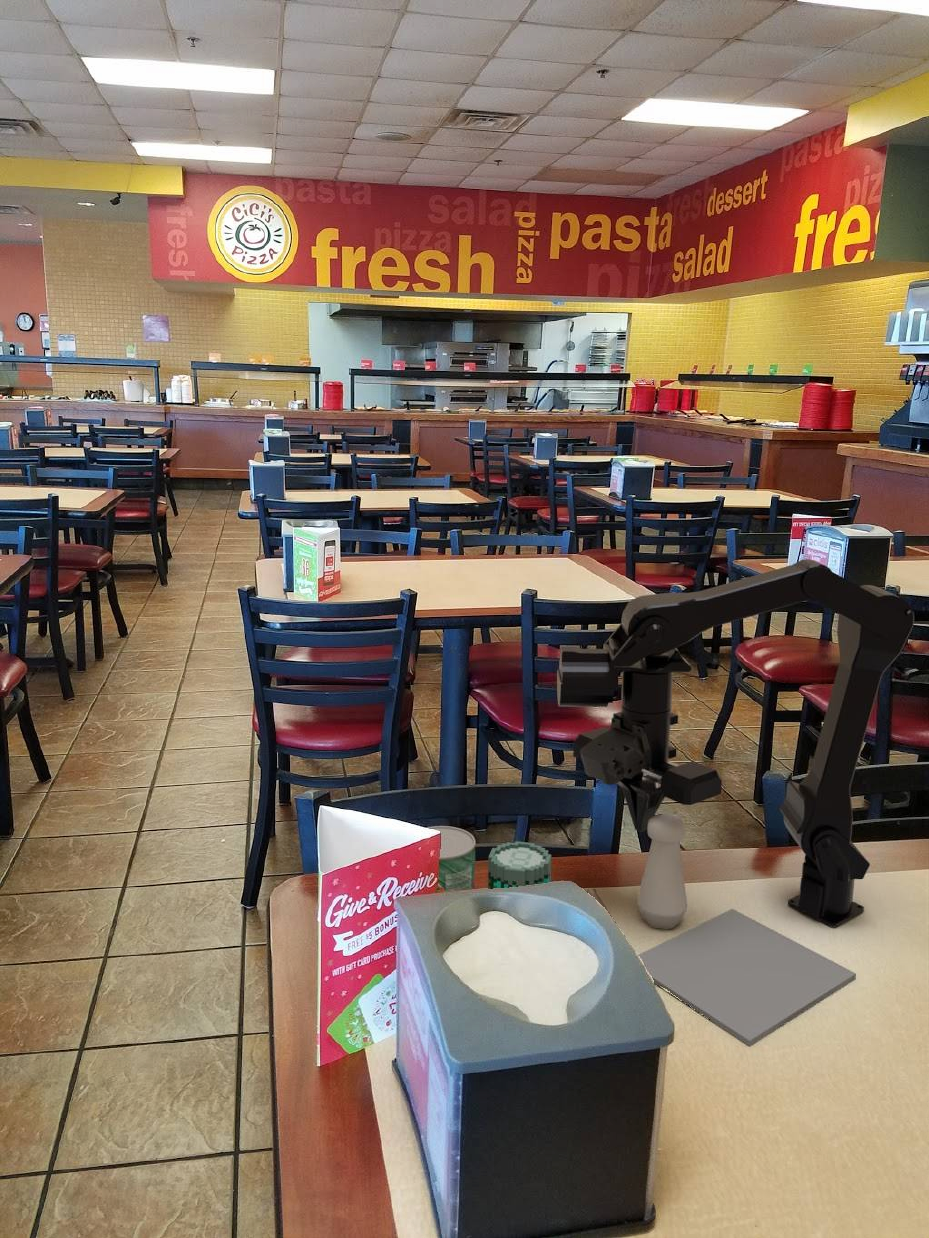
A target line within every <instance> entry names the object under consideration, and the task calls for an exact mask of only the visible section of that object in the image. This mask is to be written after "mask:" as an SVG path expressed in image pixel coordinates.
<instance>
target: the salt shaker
mask: <svg viewBox="0 0 929 1238" xmlns="http://www.w3.org/2000/svg"><path fill="white" fill-rule="evenodd" d="M647 835H648V836H647V837H649V839H651V843H650V848H649V852H648V855H647V860H646V864H645V868H644V872H643V875H642V879H641V883H640V887H639V891H638V893H637V906H638V908H639V911H640V914H641V916H642V919H643V921H644V922H646V923H647V924H648V925H650V926H651V927H652V928H654V927H656V928H655V929H663V928H668V929H667V930H671V929H672V928H674V927H676V926H677V924H678V925H679V924H680V923H681V921H682V919H683V918H684V916H685V914H686V913H687V910H688V900H687V899H688V898H687V893H686V886H685V877H684V869H683V862H682V853H681V845H680V843H681V842H682V841H683V840H684V839H685V837H686V827H685V822H684V821H683V820H682V818H681V817H679V816H677V815H675V814H672V813H657V814H655V815H654V816H653V817H651V818H650V819H649V821H648V828H647ZM670 928H671V929H670Z"/></svg>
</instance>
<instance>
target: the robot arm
mask: <svg viewBox="0 0 929 1238" xmlns="http://www.w3.org/2000/svg"><path fill="white" fill-rule="evenodd" d="M808 601H816V602H817V603H820V604H822V605H823V606H826V607H827V608H829V609H831V610H833V611H835V612H836V613H838V619H837V632H836V634H837V642H838V644H837V645H838V651H839V663H838V667H837V670H836V675H835V678H834V681H833V682H834V683H833V685H832V690H831V692H830V696H829V701H828V704H827V707H826V708H827V709H826V711H825V715H824V719H823V722H822V726H821V729H820V730H821V731H820V733H819V737H818V740H817V743H816V749H815V752H814V755H813V758H812V759H813V760H812V763H811V767H810V770H809V772H808V773H807V775H806V776H805V777H804V778H803V779H802V780H801V781H800V783H797V782H796V781H795V782H794V781H792V780H788V782H787V785H786V791H785V792H786V794H785V799H784V801H783V802H782V804H781V806H779V810H780V812H781V813H782V815H783V822H784V823H783V824H784V825H785V828H786V829H787V830H788V832H789V834H790V835H791V836H792V838H793V839H794V841H795V842H796V843H797V845H798V846H799V848H800V849H801V850H802V852H803V853H804V860H803V863H802V871H801V878H800V885H799V894H797V895H795V896H793V897H792V898H789V899H788V900H787V905H788V906H789V907H791V908H792V909H793V908H794V910H797V911H799V912H801V913H803V914H805V915H808V916H810V917H812V918H813V919H815V920H818V921H820V922H822V923H824V924H825V925H827V926H830V927H832V928H837V927H838V926H840V925H842V924H844V923H846V922H847V921H849V920H851V919H853V918H855V917H857V916H859V915H860V914H862V913H863V912H864V911H865V907H864V906H863V904H862V905H861V904H860V903H857V902H855V901H853V899H854V898H853V897H854V888H855V881H856V880H863V879H864V878H865V875H866V874H867V872H868V870H869V868H870V866H871V865H870V864H871V863H870V862H869V861H868V860H867V858H866V857H865V856H864V854H863V853H862V852H861V851H860V850H859V849H858V847H857V846H856V845H855V844H854V843H853V842H852V834H853V823H854V814H853V805H852V796H851V786H852V782H853V778H854V775H855V771H856V769H857V764H858V761H859V759H860V754H861V751H862V747H863V743H864V739H865V736H866V733H867V729H868V726H869V723H870V719H871V715H872V712H873V708H874V705H875V701H876V698H877V694H878V691H879V687H880V684H881V680H882V677H883V675H884V673H885V671H886V670H887V669H888V667H890V666H891V665H892V664H893V662H894V661H895V660H896V659H897V658H898V657H899V655H901V653H902V651H903V648H904V646H905V645H906V642H907V641H908V638H909V637H910V635H911V632H912V630H913V628H914V623H915V612H914V611H913V610H912V608H911V606H910V604H909V603H908V602H907V601H906V599H905V600H904V598H902V597H900V596H898V595H895V594H894V593H891V592H890V591H888V590H885V589H883V588H881V587H878V586H875V585H871V584H863V585H860V586H859V585H858V584H856V583H854V582H852V581H850V580H849V579H847V578H844V577H843V576H841V575H839V574H836V573H835V572H833V570H832V569H831V568H829V567H828V566H827V565H825V564H823V563H820V562H818V561H816V560H815V559H814V560H813V559H810V558H807V559H801V560H798V561H797V562H795V563H793V564H790V565H787V566H784V567H779V568H777V569H773V570H769V571H766V572H762V573H760V574H756V575H752V576H749V577H746V578H741V579H738V580H735V581H732V582H728V583H724V584H721V585H717V586H714V587H710V588H707V589H703V590H699V591H692V592H664V593H663V592H662V593H655V594H646V595H640V596H637V597H635V598H632V599H631V600H630V601H629V602H628V603H627V604H626V606H625V608H624V609H623V610H622V614H621V615H622V616H621V622H620V624H619V625H618V626H617V627H616V629H615V630H614V631H613V632H612V633H611V635H610V636H609V637H608V638H607V640H606V641H605V642H604V643H603V648H577V647H573V646H572V647H571V646H570V647H567V646H563V647H561V648H560V657H559V663H558V664H559V665H558V669H556V692H557V697H556V698H557V705H558V707H573V708H574V707H577V708H579V707H582V708H583V707H585V708H588V707H591V708H598V707H599V708H602V707H603V708H604V707H605V708H606V707H608V706H609V704H613V703H614V699H617V698H618V696H619V695H618V694H619V672H622V673H621V674H622V675H621V677H622V678H621V679H622V680H621V703H620V711H618V712H615V713H613V714H612V715H613V716H612V718H611V722H610V728H608V727H605V726H604V727H603V726H602V727H599V728H596V729H593V730H588V731H585V732H581V733H579V734H578V735H577V737H576V738H575V740H574V741H573V754H572V755H573V758H576V759H578V760H580V761H582V763H583V767H584V772H585V774H586V775H587V776H588V777H589V778H595V779H596V780H599V781H601V782H602V783H603V784H605V785H608V786H611V785H618V786H619V787H620V788H621V791H622V793H623V796H624V798H625V801H626V805H627V807H628V811H629V814H630V817H631V820H632V824H633V826H634V830H635V831H636V832H637V831H638V832H639V833H643V832H645V831H647V830H648V821H649V819H650V818H651V817H653V816H654V815H656V813H657V812H658V810H659V808H660V806H661V804H662V803H663V801H664V799H665V798H667V799H669V800H671V801H674V802H675V803H678V804H680V805H683V806H691V805H694V804H697V803H700V802H703V801H706V800H708V799H711V798H714V797H717V796H719V795H721V794H722V786H723V780H722V779H723V778H722V775H721V774H720V772H719V771H718V770H717V769H714V768H712V767H710V766H706V765H704V764H701V763H699V762H697V761H693V760H692V761H689V762H686V763H683V764H677V763H675V762H671V761H669V760H671V759H673V758H676V757H677V748H676V747H673V746H671V745H670V739H671V737H670V736H671V726H673V725H674V726H675V725H676V724H678V723H679V715H678V714H676V713H673V712H672V700H673V680H674V673H690V672H692V669H693V668H692V665H691V664H690V663H689V662H688V660H687V659H686V658H684V657H683V656H682V655H681V653H680V651H679V650H678V648H679V647H681V646H683V645H686V644H687V643H689V642H690V641H692V640H694V639H695V638H696V637H698V636H699V635H701V634H703V632H705V631H708V630H709V629H712V628H714V627H718V626H722V625H726V624H728V623H732V622H733V623H734V622H736V621H740V620H742V619H743V620H744V619H746V618H750V617H753V616H758V615H761V614H764V613H765V614H766V613H768V612H771V611H776V610H779V609H782V608H787V607H790V606H793V605H797V604H800V603H803V602H808Z"/></svg>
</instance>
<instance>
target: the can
mask: <svg viewBox="0 0 929 1238" xmlns="http://www.w3.org/2000/svg"><path fill="white" fill-rule="evenodd" d="M487 860H488V861H487V862H488V864H487V865H488V866H487V867H488V870H487V872H488V873H487V874H488V875H487V876H488V877H487V881H488V882H487V887H488V888H487V890H488V889H493V888H509V887H518V886H526V885H534V884H542V883H548V882H551V883H552V880H551V877H552V874H551V873H552V854H549V850H548V849H546V848H545V847H543V846H542V845H536V843H533V842H526V841H525V842H523V841H517V840H516V841H515V842H508V841H507V842H506V843H502V844H498V845H497V846H496V847H492V848H491V851H490V853H489V855H488V858H487Z"/></svg>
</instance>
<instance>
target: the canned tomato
mask: <svg viewBox="0 0 929 1238" xmlns="http://www.w3.org/2000/svg"><path fill="white" fill-rule="evenodd" d="M426 828H429V829H436V830H439V831H440V833H441V849H440V857H439V877H438V886H437V889H436V892H448V891H457V890H467V889H475V890H476V843H477V842H476V839H475V837H474V835H473V834H472V833H470V832H469V831H467V830H465V829H463V828H458V827H455V826H448V825H435V826H427V827H426Z"/></svg>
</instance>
